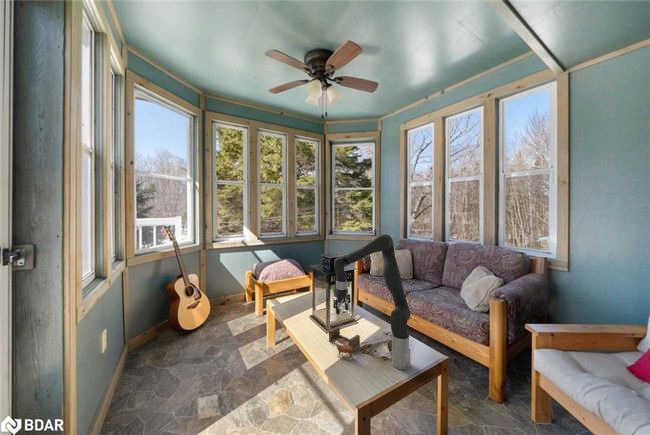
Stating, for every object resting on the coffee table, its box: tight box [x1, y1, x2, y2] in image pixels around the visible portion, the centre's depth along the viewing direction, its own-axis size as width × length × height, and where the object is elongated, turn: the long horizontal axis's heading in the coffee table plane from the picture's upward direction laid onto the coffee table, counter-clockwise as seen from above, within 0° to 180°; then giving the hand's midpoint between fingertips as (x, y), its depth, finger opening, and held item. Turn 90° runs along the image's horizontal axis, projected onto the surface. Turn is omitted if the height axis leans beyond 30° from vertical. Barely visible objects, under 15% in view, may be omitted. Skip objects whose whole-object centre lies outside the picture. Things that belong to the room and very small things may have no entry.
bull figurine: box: [334, 341, 355, 361], centre depth 151 cm, size 4×13×8 cm, turn 59°
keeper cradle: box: [328, 326, 361, 351], centre depth 165 cm, size 19×9×7 cm, turn 46°
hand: (342, 312), depth 162 cm, fingers open, 8 cm apart
